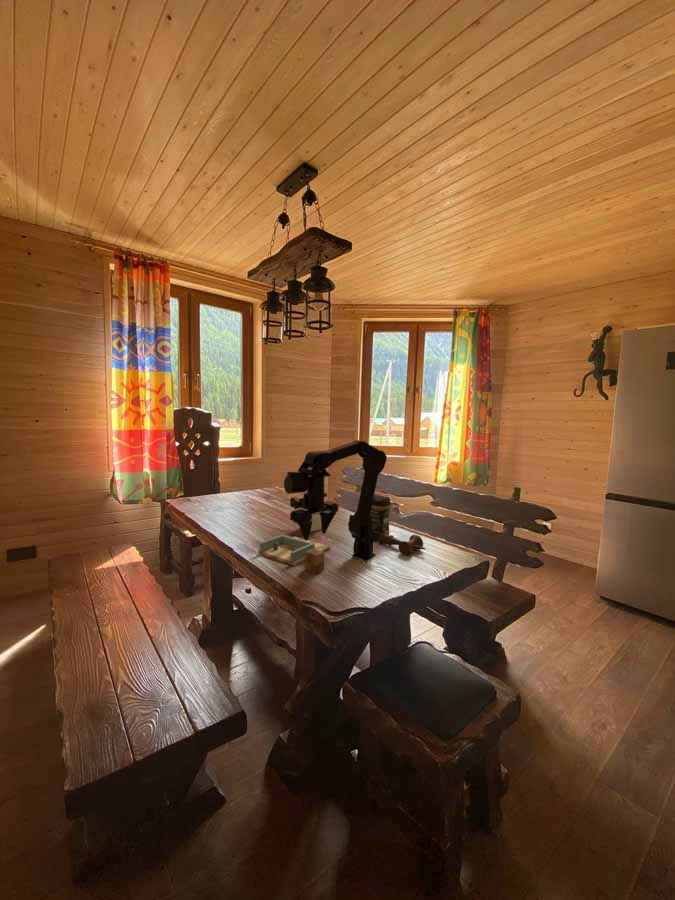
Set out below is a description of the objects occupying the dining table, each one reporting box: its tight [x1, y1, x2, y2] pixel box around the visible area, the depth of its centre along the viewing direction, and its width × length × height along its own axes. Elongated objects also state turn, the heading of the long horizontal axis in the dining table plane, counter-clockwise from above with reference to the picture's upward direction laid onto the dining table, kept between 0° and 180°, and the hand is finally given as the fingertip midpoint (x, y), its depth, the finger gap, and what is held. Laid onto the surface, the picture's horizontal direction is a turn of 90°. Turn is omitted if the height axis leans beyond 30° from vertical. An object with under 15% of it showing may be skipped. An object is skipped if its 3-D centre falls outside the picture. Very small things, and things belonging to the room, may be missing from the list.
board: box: [258, 536, 331, 567], centre depth 140 cm, size 18×20×4 cm
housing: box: [259, 534, 315, 561], centre depth 137 cm, size 16×12×3 cm
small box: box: [301, 508, 322, 533], centre depth 168 cm, size 8×6×13 cm
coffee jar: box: [370, 493, 391, 542], centre depth 155 cm, size 10×8×19 cm
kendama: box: [377, 532, 427, 557], centre depth 144 cm, size 6×10×20 cm
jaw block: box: [304, 549, 325, 574], centre depth 124 cm, size 5×4×6 cm
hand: (315, 536), depth 123 cm, fingers open, 9 cm apart
